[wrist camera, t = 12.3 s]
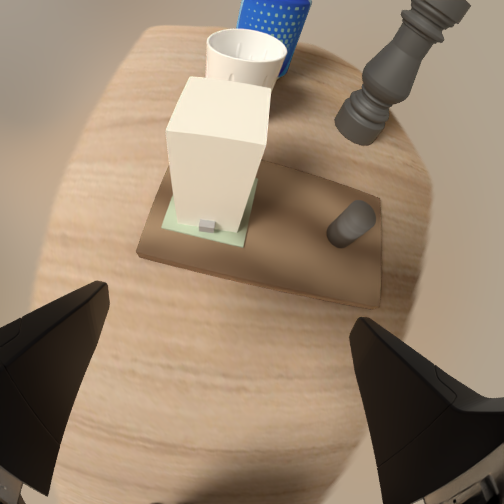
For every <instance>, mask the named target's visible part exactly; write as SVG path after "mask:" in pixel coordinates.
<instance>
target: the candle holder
mask: <svg viewBox="0 0 504 504" xmlns="http://www.w3.org/2000/svg"><path fill="white" fill-rule="evenodd" d="M411 7H412V8H411V10H403V11H402V12H401V16H402V18H403V20H402V21H403V23H402V25H401V27H400V28H399V30H398V32H397V33H396V35H395V37H394V38H393V40H392V41H391V42H390V43H389V44H388V45H386V46H385V47H384V48H383V49H382V50H381V51H380V52H379V53H378V54H377V55H376V56H375V57H374V58H373V59H372V60H371V61H369V62H368V63H367V64H366V66H365V68H364V70H363V73H362V80H363V83H364V84H362V89H360V90H357V91H354V92H352V93H351V95H350V98H348V99H346V100H345V102H344V103H343V105H342V107H341V109H340V110H339V112H338V114H337V115H336V117H335V119H334V120H335V125H336V127H337V129H338V130H339V132H340V133H341V134H342V135H343V136H344V137H345V138H347V139H348V140H350V141H352V142H353V143H356V144H359V145H370V144H371V143H373V141H374V140H375V139H376V138H377V136H378V135H379V134H380V132H381V131H382V130H383V129H384V126H385V122H386V121H387V120H388V118H389V107H391V106H392V105H393V104H397V103H400V102H402V101H404V100H405V99H406V98H407V97H408V96H409V94H410V91H411V88H412V86H413V83H414V80H415V78H416V75H417V72H418V69H419V66H420V64H421V61H422V59H423V58H424V57H425V55H426V54H427V52H428V51H429V49H430V48H431V47H432V45H433V44H436V43H437V42H440V43H442V42H443V41H444V37H443V35H442V30H444V29H445V30H446V29H447V28H449V27H453V26H454V24H455V23H457V24H459V22H460V21H461V20H462V18H463V17H464V15H465V14H466V12H467V11H468V9H469V8H470V7H471V5H470V4H469V3H468V2H467V1H466V0H411Z"/></svg>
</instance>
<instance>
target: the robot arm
mask: <svg viewBox="0 0 504 504" xmlns="http://www.w3.org/2000/svg"><path fill="white" fill-rule="evenodd" d="M109 305H110V301H109V291H108V285H107V283H106V282H102V281H94V282H92V283H90V284H88V285H86V286H83V287H81V288H79V289H77V290H75V291H73V292H71V293H69V294H67V295H65V296H63V297H61V298H59V299H57V300H54V301H52V302H50V303H48V304H46V305H44V306H42V307H40V308H38V309H36V310H34V311H32V312H30V313H29V314H27V315H25V316H23V317H22V318H19V319H17V320H15V321H13V322H11V323H9V324H7V325H5V326H3V327H1V328H0V504H25V502H24V500H23V498H22V496H21V494H20V493H21V489H22V485H23V484H25V485H27V486H29V487H30V488H32V489H34V490H36V491H37V492H39V493H41V494H43V495H45V496H48V494H49V490H50V485H51V480H52V476H53V472H54V467H55V463H56V460H57V456H58V452H59V449H60V444H61V441H62V438H63V434H64V431H65V428H66V425H67V422H68V419H69V416H70V413H71V410H72V407H73V404H74V401H75V398H76V396H77V393H78V390H79V388H80V385H81V382H82V380H83V377H84V375H85V372H86V370H87V367H88V365H89V363H90V360H91V358H92V355H93V353H94V351H95V348H96V346H97V343H98V340H99V337H100V334H101V331H102V328H103V325H104V322H105V319H106V316H107V313H108V310H109ZM349 340H350V346H351V352H352V358H353V364H354V370H355V374H356V379H357V382H358V386H359V390H360V394H361V398H362V402H363V406H364V410H365V414H366V418H367V422H368V427H369V431H370V436H371V440H372V445H373V449H374V454H375V459H376V464H377V467H378V468H377V470H378V476H379V482H380V487H381V493H382V500H383V504H413V503H415V502H417V501H419V500H422V499H423V500H424V503H425V504H504V397H503V398H487V397H484V396H481V395H480V394H478V393H476V392H475V391H473V390H472V389H470V388H468V387H467V386H465V385H464V384H462V383H461V382H459V381H457V380H456V379H454V378H453V377H451V376H450V375H448V374H447V373H445V372H444V371H443V370H441V369H440V368H439V367H437V366H436V365H434V364H433V363H432V362H430V361H429V360H427V359H426V358H425V357H423V356H422V355H421V354H419V353H418V352H416V351H415V350H414V349H412V348H411V347H409V346H408V345H407V344H405V343H404V342H403V341H401V340H400V339H398V338H397V337H396V336H394V335H393V334H391V333H390V332H389V331H387V330H386V329H384V328H383V327H382V326H380V325H379V324H377V323H376V322H374V321H373V320H372V319H370V318H368V317H359V318H358V319H357V321H356V323H355V325H354V327H353V329H352V331H351V333H350V336H349Z"/></svg>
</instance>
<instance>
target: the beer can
mask: <svg viewBox="0 0 504 504" xmlns="http://www.w3.org/2000/svg"><path fill="white" fill-rule="evenodd" d="M311 4H312V0H242V2H241V6H240V11H239V16H238V21H237V27H236V29H249V30H255V31H259V32H263V33H266V34H268V35H271V36H273V37H275V38H276V39H278V40H279V41H281V42H282V43H283V44H284V45H285V46H286V48H287V55H286V57H285V60H284V62H283V65H282V67H281V70H280V72H279V75H278V78H277V79H279V78H280V77H282V76H284V75H285V74H286V73H287V71H288V68H289V65H290V62H291V59H292V56H293V54H294V51H295V48H296V45H297V42H298V40H299V37H300V34H301V31H302V29H303V26H304V23H305V20H306V17H307V15H308V12H309V10H310V7H311Z"/></svg>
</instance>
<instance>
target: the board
mask: <svg viewBox="0 0 504 504" xmlns="http://www.w3.org/2000/svg"><path fill="white" fill-rule="evenodd" d="M136 253H137V254H138V256H139V257H140V258H144V259H148V260H151V261H155V262H159V263H163V264H167V265H171V266H175V267H179V268H183V269H187V270H191V271H195V272H199V273H203V274H207V275H211V276H216V277H220V278H224V279H228V280H233V281H237V282H241V283H246V284H250V285H255V286H259V287H264V288H268V289H273V290H277V291H282V292H286V293H291V294H296V295H301V296H305V297H310V298H315V299H320V300H325V301H330V302H335V303H340V304H345V305H350V306H356V307H361V308H366V309H374V308H377V307H380V291H381V257H382V244H381V209H380V198H378V197H375V196H373V195H370V194H367V193H365V192H362V191H359V190H356V189H354V188H351V187H348V186H345V185H342V184H339V183H336V182H333V181H331V180H327V179H324V178H321V177H318V176H315V175H312V174H309V173H305V172H302V171H299V170H296V169H292V168H289V167H285V166H282V165H278V164H275V163H271V162H267V161H264V160H261V162H260V165H259V168H258V171H257V174H256V177H255V180H254V183H253V186H252V189H251V192H250V195H249V198H248V201H247V204H246V207H245V210H244V213H243V216H242V219H241V222H240V225H239V228H238V231H237V233H235V232H229V231H223V230H216V229H214V233H207V232H200V231H199V227H196V226H190V225H183V224H178V222H177V216H176V209H175V203H174V196H173V189H172V182H171V174H170V166H168V168H167V171H166V173H165V175H164V178H163V180H162V182H161V185H160V187H159V190H158V192H157V195H156V197H155V200H154V202H153V205H152V208H151V210H150V213H149V216H148V218H147V221H146V224H145V227H144V229H143V232H142V235H141V238H140V241H139V244H138V247H137V250H136Z"/></svg>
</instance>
